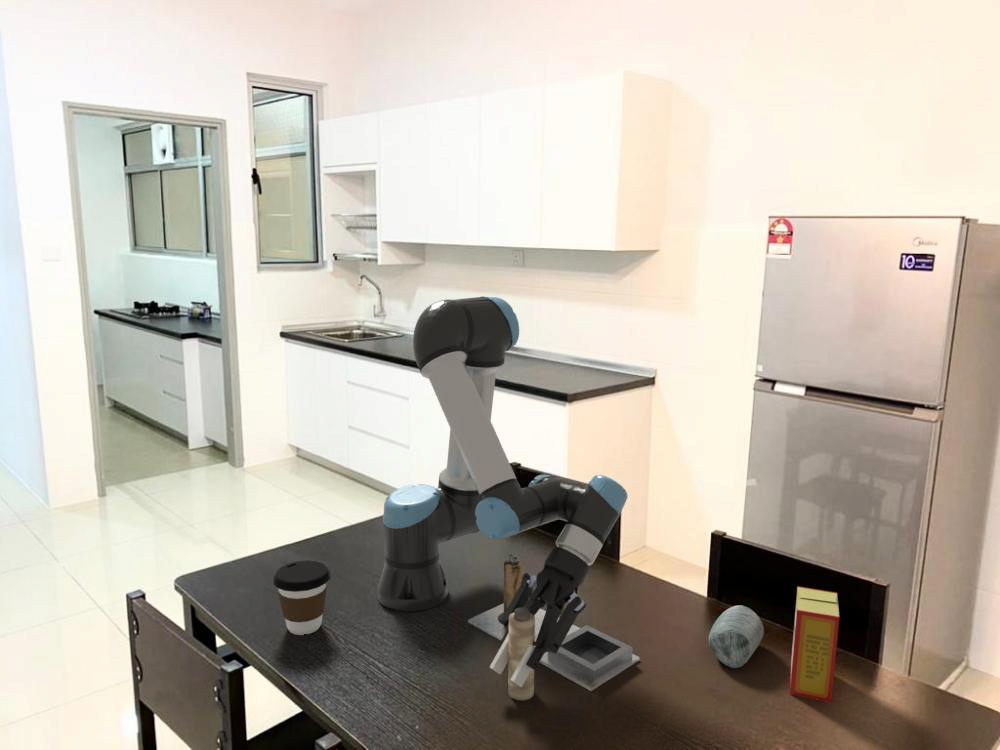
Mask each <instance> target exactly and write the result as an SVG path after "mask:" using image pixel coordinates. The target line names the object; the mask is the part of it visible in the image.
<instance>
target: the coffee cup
mask: <svg viewBox="0 0 1000 750" xmlns="http://www.w3.org/2000/svg"><path fill="white" fill-rule="evenodd" d="M330 579H331V571H330V570H329V568H328V566H327V565H325V564H324V563H322V562H320V561H316V560H298V561H294V562H290V563H287V564H285V565H283V566H281V567H279V568H278V570H277V571H276V572H275V574H274V576H273V579H272V580H273V585H274V586H275V587H276V588H277V593H278V598H279V602H280V607H281V612H282V616H283V618H284V620H285V625H286V628H287V630H288V631H289V632H290V634H293V635H297V636H304V634H307V635H309V634H312V633H314V632H317V631H318V630H319V628H320V627H321V625H322V622H323V613H324V612H325V604H326V597H327V596H326V595H327V586H328V585H327V583H328V581H329V580H330Z"/></svg>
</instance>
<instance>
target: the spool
mask: <svg viewBox="0 0 1000 750" xmlns="http://www.w3.org/2000/svg"><path fill="white" fill-rule="evenodd" d="M764 628H765V627H764V624H763V622H762V619H761V618H760V616H758V614H757V613H756V612H755V611H753V610H752V609H751V608H750V607H748V606H744V605H734V606H733V605H732V606H731V607H729V608H727V609H726V610H724V611H723V612H722V613H721V614H720V615H719V616H718V617H717V619H716V620H715V621H714V624H712V627H711V630H710V632H709V634H708V645H709V648H710V649H711V651H712V653H713V654H714V656H715V657H716V658H717V659H718V661H720V662H721V663H722V664H724V665H725V666H727V667H729V668H731V669H738V668H741V667H743V666H744V665H745V664H746V663H748V662H749V660H750V658H751V657H752V655H753V654H754V653H755V651H756V650H757V648H758V647H759V645H760V643H761V641H762V640H763V637H764V633H765V632H764V631H765V630H764Z"/></svg>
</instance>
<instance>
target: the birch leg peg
mask: <svg viewBox="0 0 1000 750" xmlns="http://www.w3.org/2000/svg"><path fill="white" fill-rule="evenodd" d="M533 641H534V642H535V616H534V615H533V614H531V613H530V611H529V609H527V608H523V607H520V608H516V609H515V610H514V613H512V614H510V616H509V661H508V662H507V664H508V672H507V673H508V674H507V675H508V679H507V680H508V682H507V683H508V684H507V686H508V687H507V690H508V691H507V693H508V696H509V697H510V698H511V699H512V700H516V701H522V702H523V701H528V700H530V699H531V698H533V696H534V695H535V669H531V671H530V673H529V675H528V677H527V679H526V680H525V682H524V684H523V686H522V687H520V686H518V685H517V684H516V683H514V682H513V681H511V680H510V679H511V678H512V676H513V674H514V672H515V670H516V669H517V667H518V665H519V663H520V661H521V660H522V658H523V656H524V654H525V652H526V650H527V649H528V647H529V645H530V644H531V645H533V646H534V647H535V645H534V644H533Z"/></svg>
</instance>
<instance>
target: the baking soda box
mask: <svg viewBox="0 0 1000 750" xmlns="http://www.w3.org/2000/svg"><path fill="white" fill-rule="evenodd" d="M838 598H839V597H838V592H835V591H828V590H823V589H816V588H812V587H811V588H810V587H806V586H805V587H803V586H797V587H796V600H795V612H794V623H793V624H794V625H793V633H792V634H793V636H792V647H791V659H790V675H791V676H790V680H789V681H790V682H789V683H790V684H789V685H790V686H789V695H791V694H793V695H792V696H795V695H798V696H797V697H800V696H803V697H802V698H805V697H807V698H806V699H810V698H813V699H812V700H814V699H818V700H817V701H819V700H821V701H820V702H824V701H827V702H826V703H829V702H831V703H832V698H833V697H832V696H833V687H834V677H835V667H836V657H837V655H836V654H837V647H838V646H837V645H838V636H839V624H840V609H839V600H838Z"/></svg>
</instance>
